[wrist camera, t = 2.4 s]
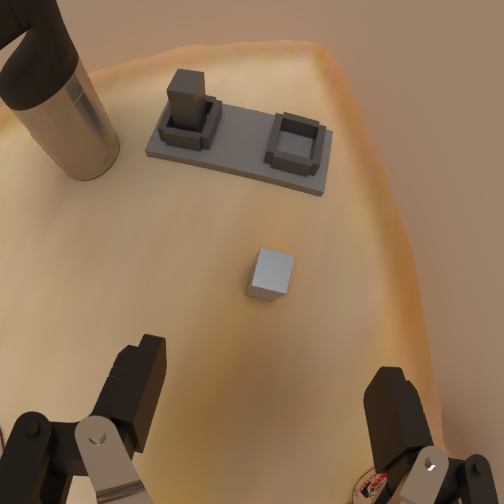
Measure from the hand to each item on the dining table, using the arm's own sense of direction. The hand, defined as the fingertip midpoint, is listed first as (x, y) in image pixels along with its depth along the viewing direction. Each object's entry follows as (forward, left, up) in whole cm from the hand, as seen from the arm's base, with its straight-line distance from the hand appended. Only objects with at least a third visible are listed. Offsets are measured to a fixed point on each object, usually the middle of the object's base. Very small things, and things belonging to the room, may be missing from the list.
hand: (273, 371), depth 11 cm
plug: (+1, +7, -27) cm, 27 cm away
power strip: (-6, +25, -27) cm, 37 cm away
